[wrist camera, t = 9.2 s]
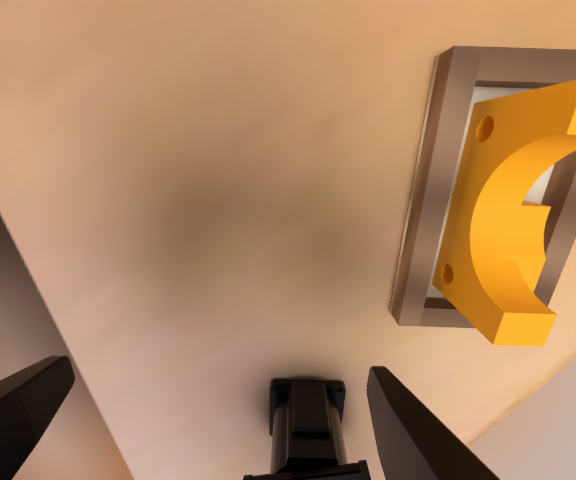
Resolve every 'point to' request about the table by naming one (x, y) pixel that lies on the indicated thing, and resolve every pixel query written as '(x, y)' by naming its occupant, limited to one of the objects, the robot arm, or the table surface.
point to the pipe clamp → (505, 213)
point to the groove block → (445, 164)
